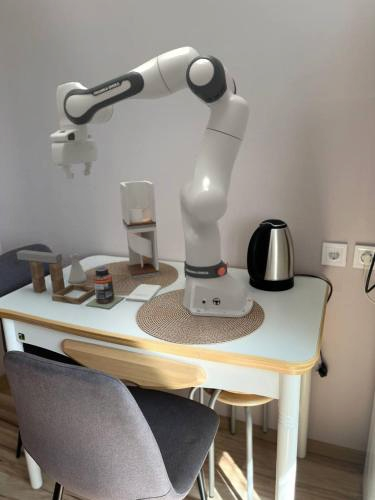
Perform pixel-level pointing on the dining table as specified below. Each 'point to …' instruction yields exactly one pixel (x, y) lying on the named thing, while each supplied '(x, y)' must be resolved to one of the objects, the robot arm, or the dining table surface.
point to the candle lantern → (140, 227)
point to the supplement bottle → (103, 285)
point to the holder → (58, 283)
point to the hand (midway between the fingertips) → (79, 177)
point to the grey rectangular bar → (39, 256)
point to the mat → (105, 306)
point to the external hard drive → (144, 293)
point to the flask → (76, 271)
